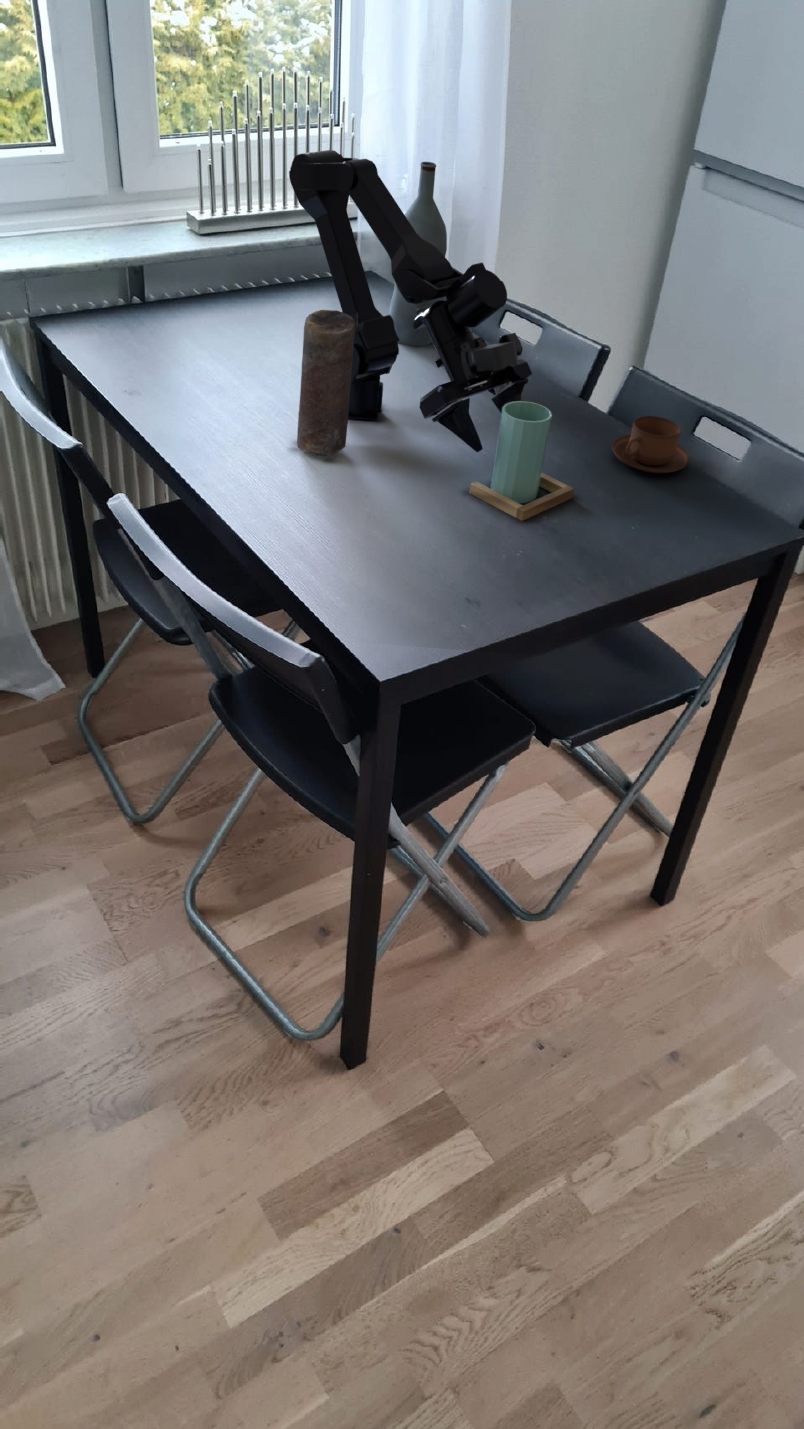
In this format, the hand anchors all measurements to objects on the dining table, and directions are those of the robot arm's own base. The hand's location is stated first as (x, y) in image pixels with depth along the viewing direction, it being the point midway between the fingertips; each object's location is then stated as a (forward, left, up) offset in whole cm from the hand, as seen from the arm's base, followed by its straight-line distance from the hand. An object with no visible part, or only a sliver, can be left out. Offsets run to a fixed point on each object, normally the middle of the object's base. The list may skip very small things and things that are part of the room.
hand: (501, 442), depth 161 cm
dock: (+3, -3, -6) cm, 8 cm away
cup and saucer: (+25, +11, -6) cm, 28 cm away
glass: (+3, -3, -6) cm, 7 cm away
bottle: (-12, +56, -6) cm, 58 cm away
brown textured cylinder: (-26, +6, -6) cm, 27 cm away
